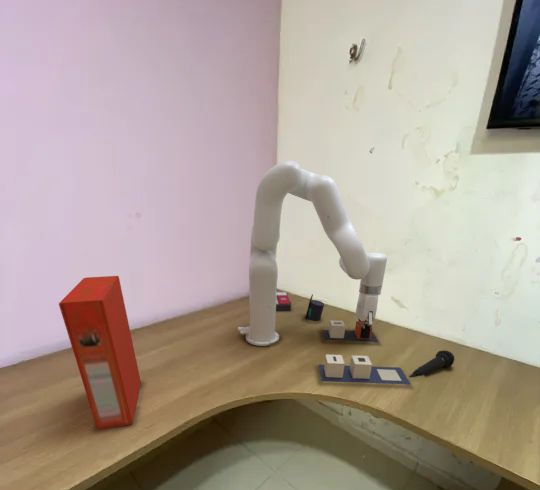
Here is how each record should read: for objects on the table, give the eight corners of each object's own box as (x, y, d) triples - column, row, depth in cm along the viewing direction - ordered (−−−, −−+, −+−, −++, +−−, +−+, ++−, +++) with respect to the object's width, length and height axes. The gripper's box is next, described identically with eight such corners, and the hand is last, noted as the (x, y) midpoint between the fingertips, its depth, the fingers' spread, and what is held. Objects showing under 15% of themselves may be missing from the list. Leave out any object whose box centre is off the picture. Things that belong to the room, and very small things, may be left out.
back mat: (324, 342, 115) (324, 340, 114) (321, 331, 123) (321, 329, 122) (378, 344, 114) (378, 342, 114) (372, 333, 122) (372, 331, 122)
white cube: (325, 377, 93) (327, 362, 90) (323, 368, 97) (325, 354, 95) (342, 377, 92) (344, 363, 90) (339, 368, 97) (341, 354, 95)
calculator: (267, 303, 139) (264, 291, 152) (266, 312, 141) (264, 299, 154) (291, 303, 140) (286, 291, 153) (290, 312, 142) (286, 299, 155)
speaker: (300, 319, 133) (304, 296, 128) (306, 315, 137) (311, 294, 132) (315, 325, 129) (320, 302, 124) (322, 321, 133) (327, 299, 129)
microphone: (411, 390, 94) (452, 367, 102) (419, 379, 90) (461, 355, 98) (398, 377, 97) (439, 355, 105) (404, 366, 93) (447, 344, 101)
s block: (357, 338, 116) (359, 326, 113) (354, 332, 120) (356, 321, 118) (370, 339, 116) (372, 327, 113) (367, 333, 120) (369, 321, 118)
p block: (352, 378, 92) (355, 363, 90) (349, 369, 97) (351, 355, 95) (369, 378, 92) (372, 364, 90) (365, 369, 97) (368, 355, 95)
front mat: (321, 383, 91) (321, 380, 91) (318, 367, 99) (318, 364, 99) (410, 387, 91) (410, 384, 90) (399, 370, 99) (400, 367, 98)
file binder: (96, 429, 73) (58, 302, 59) (110, 386, 88) (83, 277, 74) (132, 424, 75) (104, 299, 61) (141, 383, 90) (120, 275, 76)
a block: (330, 337, 116) (331, 325, 114) (328, 332, 120) (329, 320, 118) (343, 338, 116) (345, 326, 114) (341, 332, 120) (343, 320, 118)
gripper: (354, 281, 117) (348, 324, 125) (365, 296, 102) (357, 344, 110) (374, 281, 117) (367, 325, 125) (388, 297, 102) (378, 345, 110)
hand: (362, 333), depth 117 cm, fingers closed on s block, 5 cm apart
